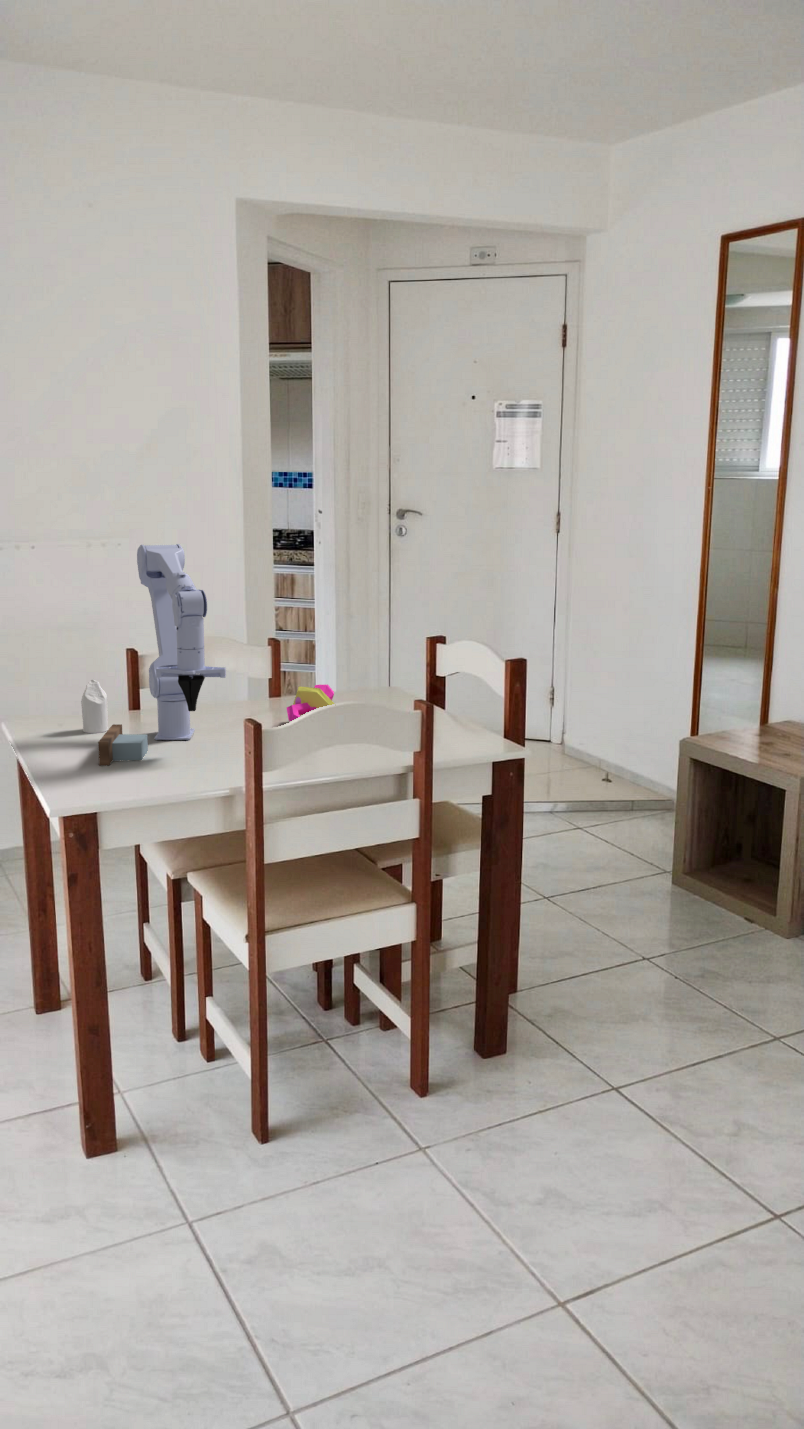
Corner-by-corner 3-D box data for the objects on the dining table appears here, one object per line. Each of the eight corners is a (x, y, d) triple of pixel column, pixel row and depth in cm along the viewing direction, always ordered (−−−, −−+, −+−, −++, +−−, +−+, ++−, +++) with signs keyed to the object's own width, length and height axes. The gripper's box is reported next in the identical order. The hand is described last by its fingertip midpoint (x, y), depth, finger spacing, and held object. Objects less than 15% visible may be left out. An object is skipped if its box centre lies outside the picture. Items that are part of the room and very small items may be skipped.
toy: (273, 731, 268) (284, 697, 262) (304, 696, 283) (315, 663, 277) (310, 749, 267) (322, 716, 261) (339, 714, 282) (351, 681, 276)
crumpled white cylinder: (89, 683, 256) (74, 680, 259) (91, 734, 258) (77, 730, 262) (111, 679, 260) (97, 676, 264) (113, 730, 263) (99, 726, 266)
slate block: (119, 752, 244) (119, 734, 243) (147, 752, 244) (147, 734, 243) (112, 761, 236) (112, 743, 235) (141, 761, 237) (141, 743, 236)
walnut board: (113, 746, 248) (112, 724, 247) (122, 746, 248) (121, 724, 247) (99, 765, 232) (98, 742, 231) (109, 765, 232) (108, 742, 231)
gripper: (153, 650, 234) (155, 714, 237) (223, 650, 235) (224, 714, 238) (158, 645, 241) (160, 707, 244) (226, 645, 242) (227, 707, 245)
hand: (192, 710), depth 241 cm, fingers closed
